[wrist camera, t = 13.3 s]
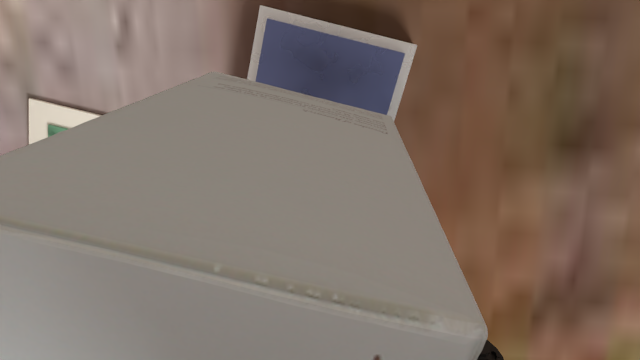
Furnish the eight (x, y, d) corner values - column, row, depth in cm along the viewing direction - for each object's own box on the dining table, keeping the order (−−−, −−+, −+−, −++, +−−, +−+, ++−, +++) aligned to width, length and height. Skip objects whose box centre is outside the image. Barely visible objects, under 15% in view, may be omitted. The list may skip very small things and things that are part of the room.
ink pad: (413, 43, 31) (418, 45, 29) (371, 181, 35) (373, 192, 33) (265, 6, 31) (258, 4, 29) (239, 148, 35) (231, 158, 32)
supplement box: (209, 65, 16) (-143, 172, 5) (396, 114, 17) (523, 338, 5) (183, 232, 19) (-88, 581, 7) (346, 273, 19) (346, 676, 7)
